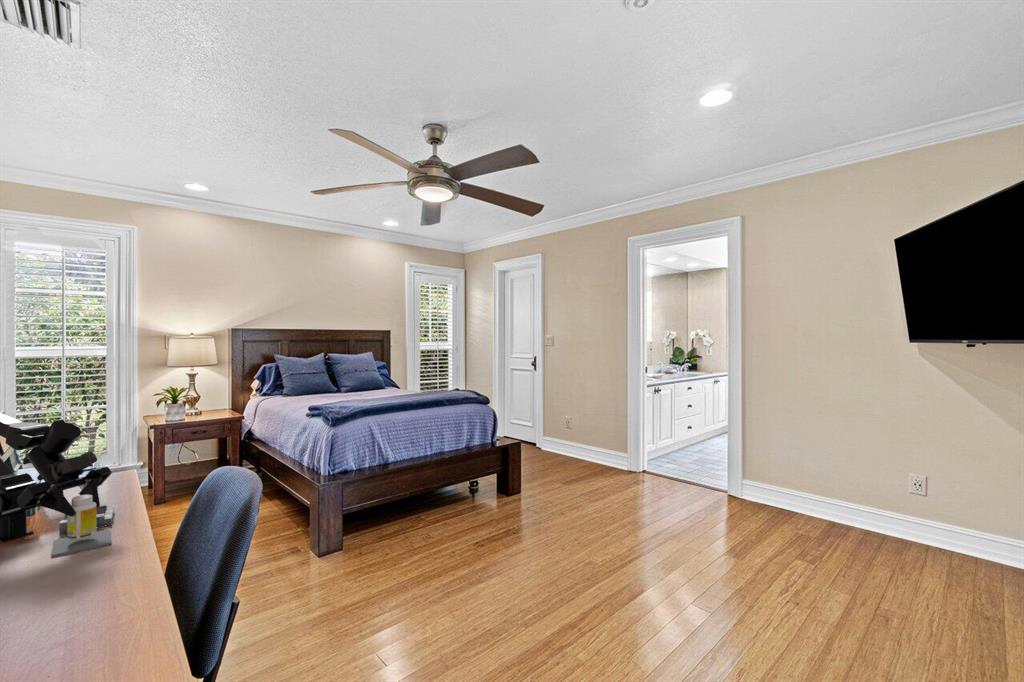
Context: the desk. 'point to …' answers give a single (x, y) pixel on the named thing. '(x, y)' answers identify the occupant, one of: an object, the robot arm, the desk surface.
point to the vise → (101, 520)
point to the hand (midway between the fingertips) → (86, 511)
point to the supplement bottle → (82, 518)
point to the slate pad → (80, 543)
